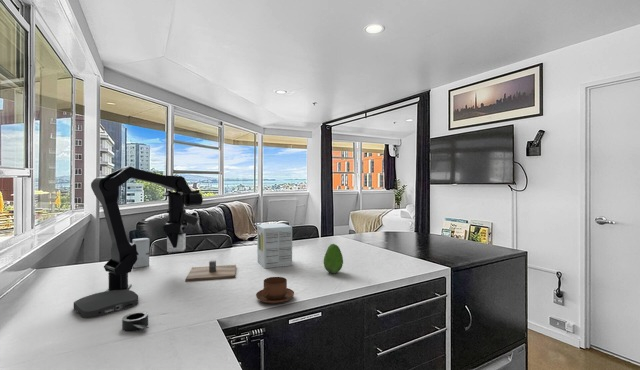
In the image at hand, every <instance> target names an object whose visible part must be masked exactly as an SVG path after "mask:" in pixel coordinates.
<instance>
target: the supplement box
mask: <svg viewBox="0 0 640 370" xmlns="http://www.w3.org/2000/svg"><path fill="white" fill-rule="evenodd" d="M256 226H257V227H256V230H257V232H256V235H257V236H256V237H257V238H256V239H257V249H256V250H257V251H256V253H257V257H256V258H257V259H256V260H257V263H258V264H260V265H261V267H262V268H264V269H271V268H278V267H289V266H292V265H293V226H291V225H289V224H286V223H283V222H282V223H281V222H279V223H266V224H265V223H263V224H256Z"/></svg>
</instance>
